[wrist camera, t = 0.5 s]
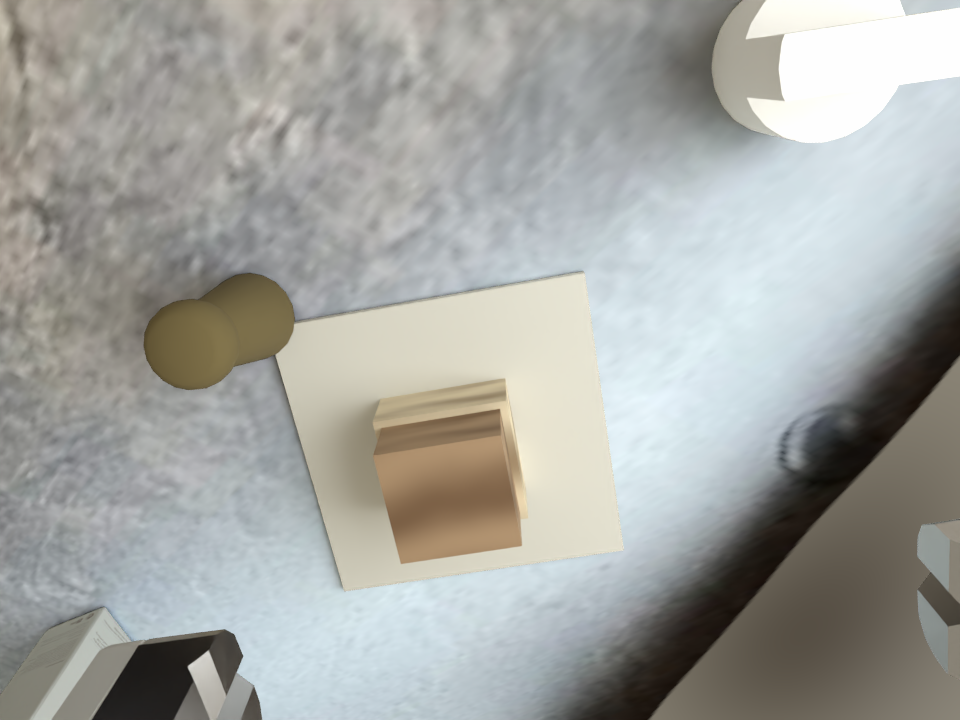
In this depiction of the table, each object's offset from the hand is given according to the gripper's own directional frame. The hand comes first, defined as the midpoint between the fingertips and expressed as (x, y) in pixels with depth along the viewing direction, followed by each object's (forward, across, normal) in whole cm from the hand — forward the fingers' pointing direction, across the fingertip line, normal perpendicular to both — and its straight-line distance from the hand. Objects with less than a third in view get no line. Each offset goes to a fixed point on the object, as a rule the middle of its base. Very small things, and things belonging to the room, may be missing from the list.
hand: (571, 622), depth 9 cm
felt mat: (+44, +7, +18) cm, 48 cm away
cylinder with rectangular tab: (+44, -18, -4) cm, 48 cm away
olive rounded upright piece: (+44, +19, +6) cm, 48 cm away
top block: (+39, +7, +18) cm, 44 cm away
